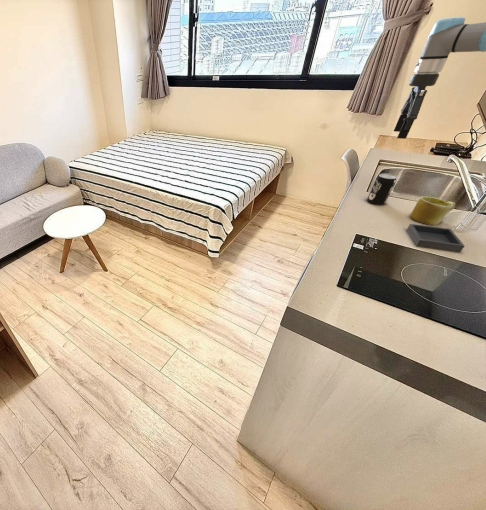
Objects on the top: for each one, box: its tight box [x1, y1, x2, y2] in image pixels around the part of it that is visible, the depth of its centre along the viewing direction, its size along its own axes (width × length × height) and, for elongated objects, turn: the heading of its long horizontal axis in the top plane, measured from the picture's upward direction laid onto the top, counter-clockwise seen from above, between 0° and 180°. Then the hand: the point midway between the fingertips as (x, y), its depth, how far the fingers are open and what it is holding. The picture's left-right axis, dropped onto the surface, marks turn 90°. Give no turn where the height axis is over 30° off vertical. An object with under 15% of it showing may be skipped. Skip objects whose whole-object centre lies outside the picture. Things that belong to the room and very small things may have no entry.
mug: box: [410, 195, 456, 226], centre depth 102 cm, size 12×10×10 cm
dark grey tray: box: [406, 223, 466, 254], centre depth 93 cm, size 11×11×3 cm
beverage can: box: [366, 172, 398, 206], centre depth 114 cm, size 7×7×12 cm
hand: (399, 134), depth 114 cm, fingers open, 13 cm apart
